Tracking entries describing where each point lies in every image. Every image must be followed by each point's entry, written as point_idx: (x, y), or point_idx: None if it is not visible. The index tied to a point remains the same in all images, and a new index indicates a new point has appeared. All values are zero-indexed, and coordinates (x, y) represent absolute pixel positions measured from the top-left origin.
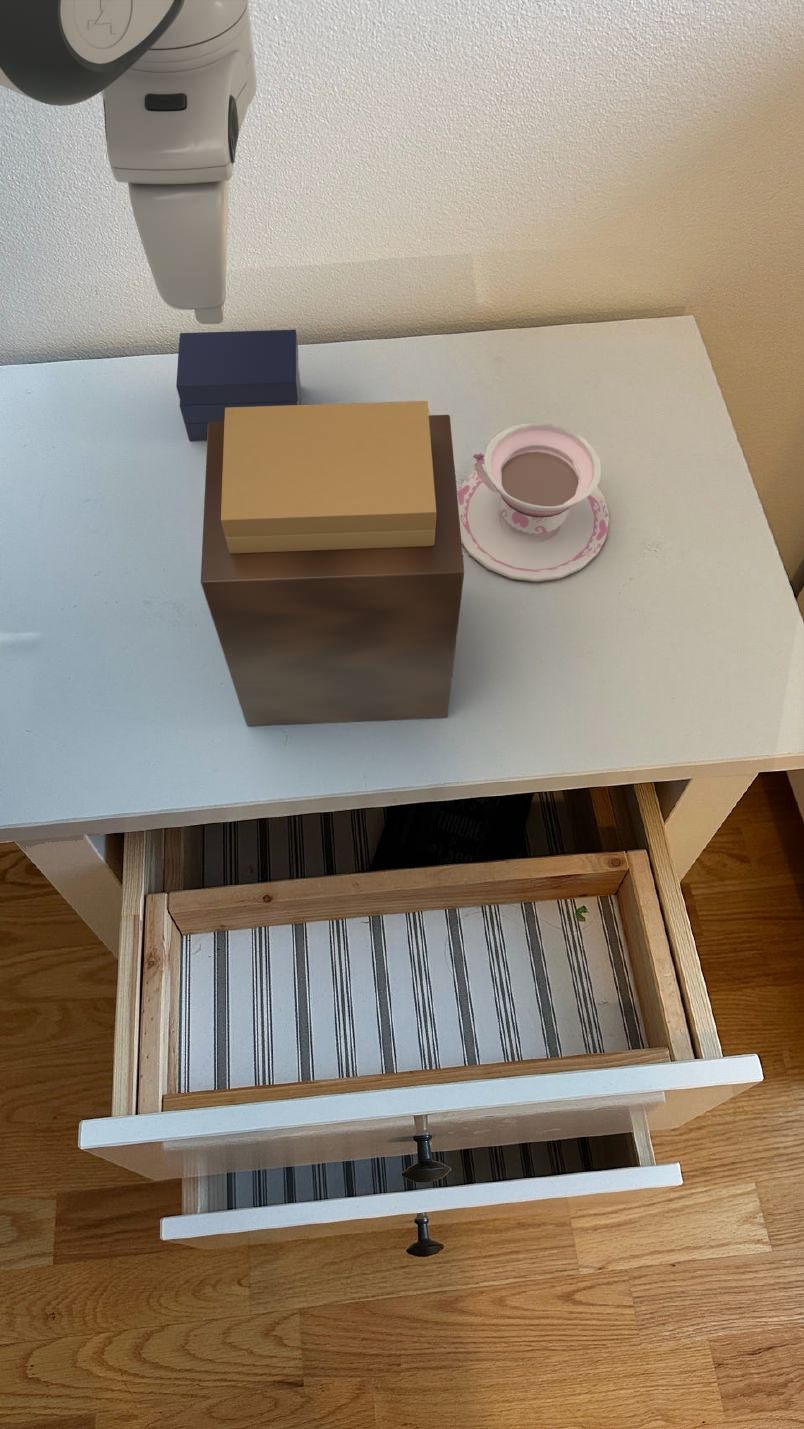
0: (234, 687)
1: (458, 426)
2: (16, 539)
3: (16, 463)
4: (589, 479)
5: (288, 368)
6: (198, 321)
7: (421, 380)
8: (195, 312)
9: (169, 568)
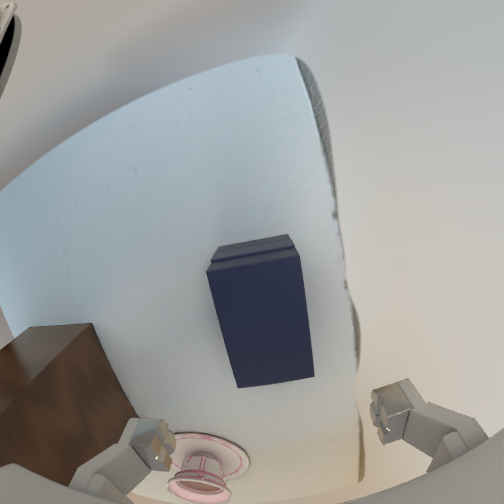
0: (2, 348)
1: (270, 431)
2: (93, 126)
3: (168, 89)
4: (201, 499)
5: (256, 380)
6: (131, 418)
7: (313, 409)
8: (124, 430)
9: (90, 261)
